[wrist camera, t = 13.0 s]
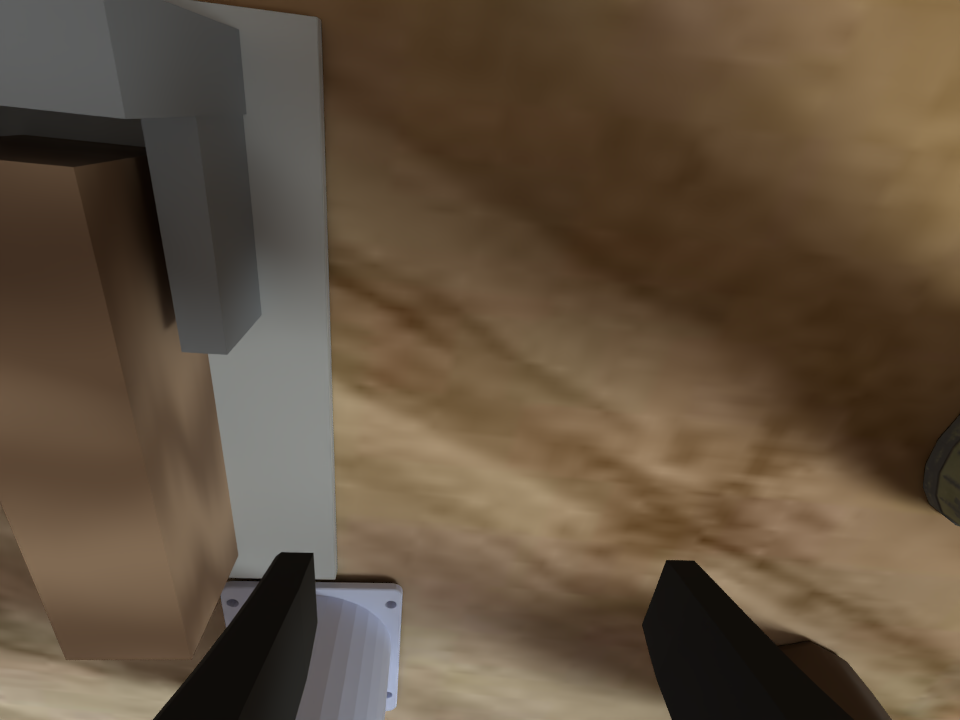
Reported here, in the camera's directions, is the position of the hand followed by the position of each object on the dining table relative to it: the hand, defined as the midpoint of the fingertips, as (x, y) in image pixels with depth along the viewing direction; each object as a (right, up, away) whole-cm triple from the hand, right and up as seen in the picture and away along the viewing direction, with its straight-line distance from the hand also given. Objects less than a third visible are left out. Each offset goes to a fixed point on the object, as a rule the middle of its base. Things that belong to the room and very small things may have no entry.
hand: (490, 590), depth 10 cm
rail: (-12, +4, +7) cm, 14 cm away
